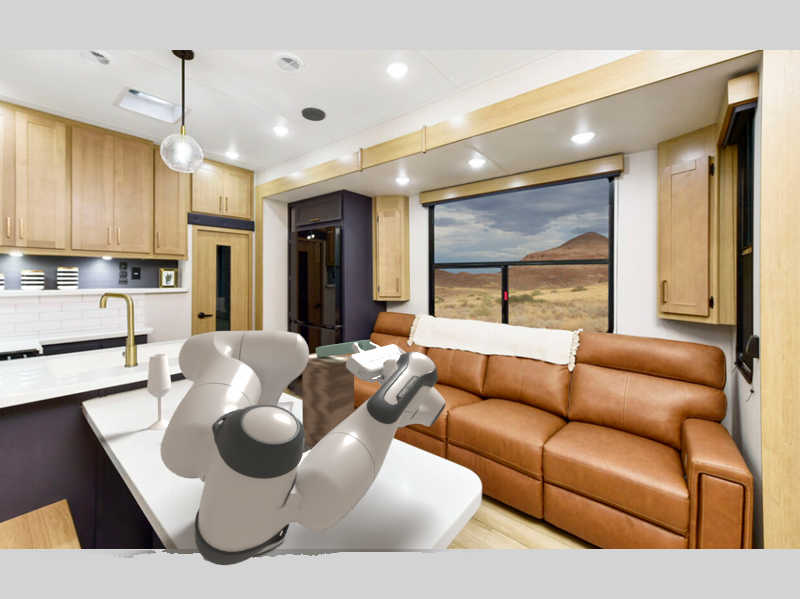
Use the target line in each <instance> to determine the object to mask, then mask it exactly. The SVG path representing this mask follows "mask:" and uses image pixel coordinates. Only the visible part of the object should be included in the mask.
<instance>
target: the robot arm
mask: <svg viewBox="0 0 800 599" xmlns="http://www.w3.org/2000/svg"><path fill="white" fill-rule="evenodd" d="M370 343H371V349H372V350H368V351H363V350H361V349H360V347H361V345H359V344H358V343H353V344H352V346H351V348H352V349H353V350H354V351H355V353H351V354H350V355H349V358H348V360H347V362H346V368H347V369H348V370H349V371H350V372H351V373H353V374H354V377H357V378H358V379H359V380H361V381H362V382H368V383H371V384H372V383H376V382H377V383H378V384H379V385H380V388H378V390H376V392H375V393H373V394H372V395H371V396H370V397H369V398H368V399H366V400H365V401H364V402H363V403H362V404H360V406H359V407H357V408H356V409H354V412H353V413H352V414H351V415H349V416H348V417H347V418H346V419H345V420H343V421H342V422H341V423H340V424H339V425H337V426H336V427H335V428H334V429H333V430H331V431H330V432H329V433H328V434H327V435H326V436H325V437H323V438H322V439H321V440H320V441H319V442H318V443H317V444H316V445H315V446H314V447H313V446H312V448H311V449H308V450H307V451H306V452H304V451H305V450H304V449H305V430H304V427H303V422H302V421H300V419H299V418H297V416H295V414H294V413H293V414H292V413H291V412H290V411H288V410H286V409H284V408H282V407H279V406H277V404H278V402H280V401H279V400H280V398H281V396H282V395H283V392H284V391H285V390H286V389H287V387H288V386H290V384H291V383H292V382H293V381H294V380H296V379H297V378H298V377H300V376H301V374H302V372H303V371H304V370H305V368H306V366H307V363H308V360H309V355H310V351H309V346H308V344H307V342H306V340H305V338H304V337H303V336H302V335H301V334H300V333H296V332H290V331H286V330H285V331H284V330H279V329H278V330H275V329H273V330H268V329H267V330H220V331H219V330H216V331H210V332H204V333H199V334H194V335H191V336H190V337H188V338H187V340H185V341H184V343H183V344H182V346H181V349H180V350H179V354H178V365H179V369H180V371H181V374H182V375H183V376H184V378H185V379H187V380H188V381H190V382H192V385H191V387H190V388H189V389H188V391H187V393H186V394H185V395H184V396H183V398H182V400H181V401H180V402H179V404H178V405H177V407H176V409H175V411H174V412H173V414H172V416H171V418H170V419H169V424H168V426H167V427H166V428H165V431H164V435H163V436H162V439H161V442H160V451H159V452H160V457H161V460H162V463H163V465H164V466H165V467H166V468H167V469H168V471H170V472H171V473H173V474H175V475H176V476H177V477H181V478H183V479H190V480H191V479H200V481H201V482H202V483H204V485H203V489H202V493H201V498H200V503H199V508H198V510H197V512H196V515H195V519H194V520H195V521H194V541H195V545H196V548H197V550H198V552H199V554H200V556H202V559H203V560H204V561H205V562H210V563H212V564H214V565H217V566H218V565H220V566H230V565H231V566H233V565H236V564H239V563H242V562H245V561H247V560H249V559H251V558H252V557H254V556H256V555H259V554H262V553H264V552H266V551H268V550H271V549H273V548H276V547H277V546H278V545H281V543H283V542H284V541H285V539H286V536H287V533H288V531H289V530H288V529H289V527H290V524H292V523H297V524H300V525H301V526H303V527H304V528H306V529H309V530H312V531H325V530H329V529H331V528H333V527H334V526H336V525H337V524H338V523H339V522H340V521H342V520H343V519H344V518H345V517H346V516H348V515H349V513H350V512H352V511H353V509H354V508H355V507H356V506H357V505H358V504H359V502H361V500H363V498H364V497H365V495H366V494H367V493H368V491H369V490H370V488H371V487H372V486H373V484H374V482H375V480H376V479H377V477H378V475H379V474H380V471H381V469H382V466H383V464H384V462H385V460H386V457H387V455H388V452H389V450H390V447H391V445H392V442H393V439H394V438H395V434H396V432H397V430H398V429H402V428H405V427H406V426H409V425H414V424H415V425H416V424H420V425H423V426H425V427H431V426H433V425H434V424H435V423H436V422H437V420H438V419H439V417H440V416H441V415H442V412H443V411H444V410H445V408H446V402H447V401H446V399H445V398H444V397H443V396H442V395H441V393H440V392H439V391H438V389H437V388H435V387H434V386H435V385H436V383H437V382H438V380H439V373H438V370H437V366H436V364H435V362H434V361H433V360H432V358H430V357H429V356H428V355H427V354H424V353H423V352H421V351H408V352H406V351H405V350H403V348H401V347H399V346H398V345H396V344H393V343H392V344H388V345H384V346H379V345H378V344H375V343H373V342H372V341H370Z"/></svg>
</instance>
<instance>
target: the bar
mask: <svg viewBox="0 0 800 599" xmlns="http://www.w3.org/2000/svg"><path fill="white" fill-rule="evenodd" d="M370 342H371V339H366V340H365V339H363V340H357V341H351V342H343V343H338V344H337V343H336V344H329V345H323V346H318V347H315V353H316V354H317V357H326V356H334V355H343V354H344V355H349V354H350V355H352V354H355V351H354V350H353V349H352V348H351V346H352V344H353V343H358V344H359V345H361V347H360V349H361V350H363V351H368V350H372V349H371V343H372V342H371V343H370Z"/></svg>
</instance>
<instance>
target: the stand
mask: <svg viewBox="0 0 800 599" xmlns="http://www.w3.org/2000/svg"><path fill="white" fill-rule="evenodd" d="M349 356H350V355H349V354H343V355H334V356H326V357H317V354H316V352H315V353H309V360H308V363H307V366H306V368H305V370H304V371H303V372H302V373H301V374H302V377H301V378H302V379H301V380H302V385H301V386H302V387H301V389H302V391H301V392H302V393H301V394H302V396H301V397H302V399H301V400H302V409H301V410H302V425H303V427H304V430H305V444H306V445H308V446H310V447H312V448H313V447H314V446H315V445H316V444H317V443H318V442H319V441H320V440H321V439H322V438H323V437H325V436H326V435H327V434H328V433H329V432H330V431H331V430H333V429H334V428H335V427H336V426H337V425H339V424H340V423H341V422H342V421H343V420H345V419H346V418H347V417H348V416H349V415H351V414H352V413H353V412H354V411H355V375H354V374H353V373H351V372H350V371H349V370H348V369H347V368H346V362H347V360H348V358H349ZM305 444H304V445H305Z"/></svg>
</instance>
